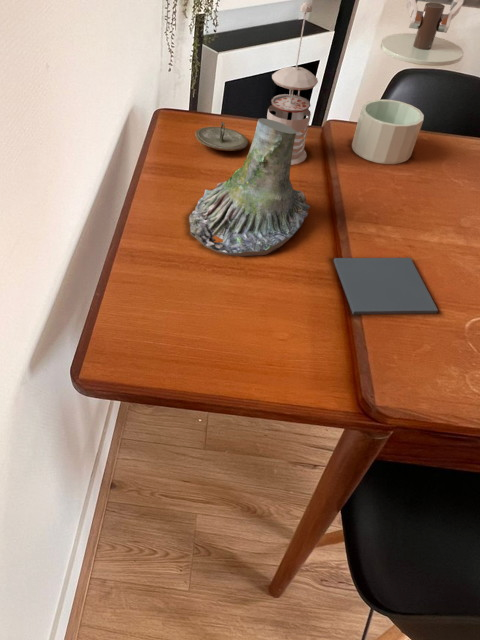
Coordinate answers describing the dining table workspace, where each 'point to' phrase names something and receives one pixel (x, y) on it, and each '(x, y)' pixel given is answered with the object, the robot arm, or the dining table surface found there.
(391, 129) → the basin
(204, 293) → the dining table surface
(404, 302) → the mat
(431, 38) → the basin lid
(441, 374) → the dining table surface
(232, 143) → the lid
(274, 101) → the french press
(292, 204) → the tree stump
